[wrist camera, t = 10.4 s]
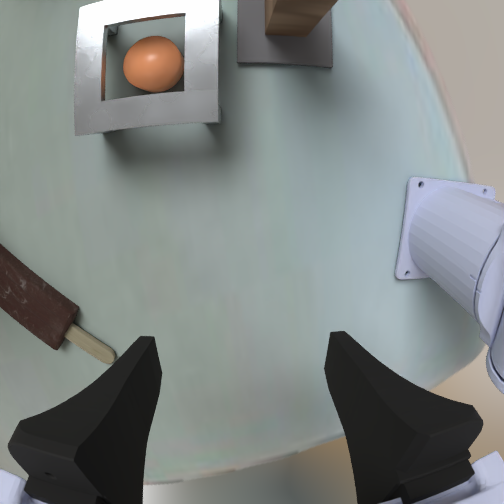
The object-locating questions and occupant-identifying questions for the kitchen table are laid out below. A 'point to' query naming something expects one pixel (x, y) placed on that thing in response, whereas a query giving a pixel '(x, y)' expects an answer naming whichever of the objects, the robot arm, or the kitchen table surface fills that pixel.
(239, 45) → the pad
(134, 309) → the kitchen table surface
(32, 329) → the ice cream bar
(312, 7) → the stylus stick
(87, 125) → the guard frame
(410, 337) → the kitchen table surface
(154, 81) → the button
